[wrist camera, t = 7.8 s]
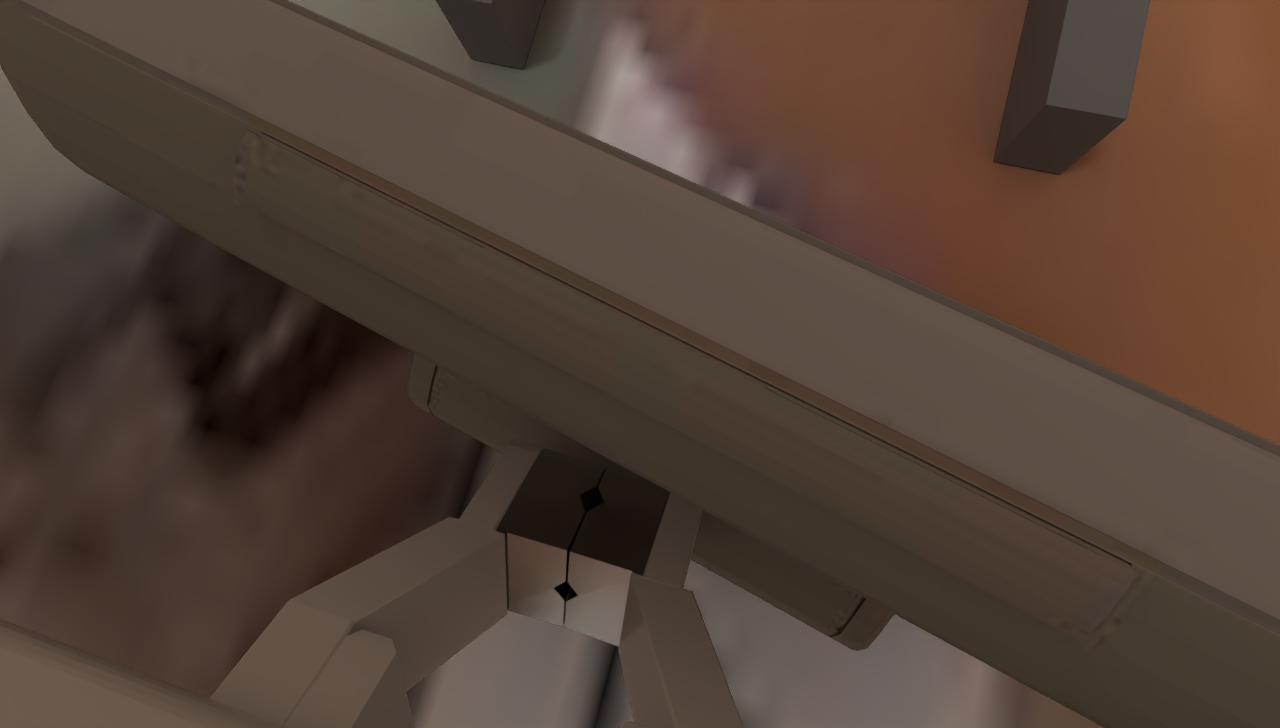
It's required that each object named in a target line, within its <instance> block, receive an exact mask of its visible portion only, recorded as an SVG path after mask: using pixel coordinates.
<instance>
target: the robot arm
mask: <svg viewBox="0 0 1280 728" xmlns="http://www.w3.org/2000/svg"><path fill="white" fill-rule="evenodd" d="M702 512H703V510H702V509H700V508H699V507H697V506H695V505H693V504H691V503H689V502H688V501H686V500H684V499H682V498H680V497H678V496H677V495H675V494H673V493H671V492H669V491H667V490H665V489H664V488H662V487H660V486H658V485H656V484H654V483H653V482H651V481H649V480H647V479H645V478H643V477H642V476H640V475H636V474H632V473H629V472H625V471H621V470H618V469H614V468H610V467H609V468H607V467H604V466H600V465H597V464H594V463H591V462H588V461H584V460H581V459H578V458H575V457H572V456H569V455H565V454H562V453H559V452H556V451H553V450H549V449H546V448H542V447H538V446H535V445H532V444H529V443H525V442H522V441H519V440H516V439H514V440H513V441H512V442H510V443H509V444H508V445H507V446H506V447H505V448H504V450H503V451H502V453H501V455H500V456H499V458H498V459H497V461H496V462H495V464H494V465H493V467H492V468H491V470H490V472H489V473H488V475H487V476H486V478H485V479H484V481H483V482H482V484H481V486H480V487H479V489H478V490H477V492H476V493H475V495H474V496H473V498H472V500H471V501H470V503H469V504H468V506H467V507H466V509H465V510H464V512H463V513H462V515H461V517H460V518H459V519H457V518H453V517H448V518H446V519H444V520H442V521H440V522H438V523H436V524H434V525H432V526H430V527H428V528H427V529H425V530H423V531H421V532H419V533H417V534H415V535H413V536H411V537H409V538H407V539H405V540H403V541H402V542H400V543H398V544H396V545H394V546H392V547H390V548H388V549H386V550H384V551H382V552H380V553H378V554H377V555H375V556H373V557H371V558H369V559H367V560H365V561H363V562H361V563H359V564H357V565H355V566H353V567H352V568H350V569H348V570H346V571H344V572H342V573H340V574H338V575H336V576H334V577H332V578H330V579H328V580H326V581H325V582H323V583H321V584H319V585H317V586H315V587H313V588H311V589H309V590H307V591H305V592H303V593H301V594H300V595H298V596H296V597H294V598H292V599H290V600H288V602H287V603H286V604H285V605H284V607H283V608H282V609H281V610H280V612H279V613H278V614H277V615H276V617H275V618H274V619H273V620H272V621H271V623H270V624H269V625H268V626H267V628H266V629H265V630H264V631H263V633H262V634H261V635H260V636H259V637H258V639H257V640H256V641H255V642H254V644H253V645H252V646H251V647H250V649H249V650H248V651H247V652H246V653H245V655H244V656H243V657H242V658H241V660H240V661H239V662H238V663H237V665H236V666H235V667H234V668H233V669H232V671H231V672H230V673H229V674H228V676H227V677H226V678H225V679H224V681H223V682H222V683H221V684H220V685H219V687H218V688H217V689H216V690H215V692H214V693H213V694H212V695H211V697H210V698H207V697H205V696H202V695H200V694H197V693H194V692H192V691H189V690H186V689H184V688H181V687H178V686H176V685H173V684H170V683H168V682H165V681H163V680H160V679H157V678H155V677H152V676H149V675H147V674H144V673H141V672H139V671H136V670H133V669H131V668H128V667H126V666H123V665H120V664H118V663H115V662H112V661H110V660H107V659H104V658H102V657H99V656H96V655H94V654H91V653H89V652H86V651H83V650H81V649H78V648H75V647H73V646H70V645H67V644H65V643H62V642H59V641H57V640H54V639H52V638H49V637H46V636H44V635H41V634H38V633H36V632H33V631H30V630H28V629H25V628H22V627H20V626H17V625H15V624H12V623H9V622H7V621H4V620H1V619H0V728H415V727H414V723H413V718H412V714H411V710H410V706H409V702H408V698H407V694H406V692H407V691H408V690H409V689H411V688H412V687H413V686H414V685H416V684H417V683H418V682H420V681H421V680H422V679H424V678H425V677H426V676H427V675H429V674H430V673H431V672H433V671H434V670H435V669H437V668H438V667H439V666H440V665H442V664H443V663H444V662H446V661H447V660H448V659H450V658H451V657H452V656H453V655H455V654H456V653H457V652H459V651H460V650H461V649H463V648H464V647H465V646H466V645H468V644H469V643H470V642H472V641H473V640H474V639H476V638H477V637H478V636H479V635H481V634H482V633H483V632H485V631H486V630H487V629H489V628H490V627H491V626H492V625H494V624H495V623H496V622H498V621H499V620H500V619H501V618H503V617H504V616H505V615H507V610H509V611H512V612H515V613H519V614H522V615H526V616H529V617H532V618H536V619H539V620H542V621H546V622H549V623H552V624H556V625H559V626H563V624H564V622H565V628H568V629H571V630H574V631H577V632H579V633H582V634H585V635H588V636H591V637H593V638H596V639H599V640H602V641H604V642H607V643H610V644H613V645H616V646H618V647H619V654H620V659H621V664H622V668H623V673H624V678H625V683H626V687H627V692H628V697H629V701H630V706H631V711H632V716H633V720H634V723H632V722H627V723H626V724H624V725H622V726H621V727H619V728H743V725H742V722H741V720H740V717H739V714H738V712H737V709H736V706H735V704H734V701H733V698H732V695H731V693H730V690H729V687H728V685H727V682H726V679H725V677H724V674H723V671H722V669H721V666H720V663H719V661H718V658H717V655H716V653H715V650H714V647H713V645H712V642H711V639H710V637H709V634H708V631H707V629H706V626H705V623H704V621H703V618H702V615H701V612H700V610H699V607H698V604H697V602H696V599H695V596H694V594H693V592H691V591H689V590H686V589H683V586H684V582H685V578H686V575H687V571H688V567H689V563H690V559H691V555H692V551H693V547H694V544H695V540H696V536H697V532H698V528H699V524H700V520H701V516H702Z"/></svg>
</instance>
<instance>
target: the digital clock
mask: <svg viewBox="0 0 1280 728" xmlns="http://www.w3.org/2000/svg"><path fill="white" fill-rule="evenodd" d="M0 64H1V68H2V70H3V71H4V73H5V75H6V77H7V78H8V80H9V82H10V84H11V85H12V87H13V89H14V90H15V92H16V94H17V96H18V97H19V99H20V101H21V102H22V104H23V106H24V108H25V109H26V111H27V113H28V114H29V115H30V117H31V118H32V119H33V121H34V122H35V123H36V124H37V126H38V127H39V128H40V130H41V131H42V132H43V134H44V135H45V136H46V137H47V139H48V140H49V141H50V143H51V144H52V145H53V147H54V148H55V149H57V150H58V151H59V152H60V153H62V154H63V155H64V156H65V157H66V158H68V159H69V160H70V161H71V162H73V163H74V164H75V165H77V166H78V167H79V168H80V169H82V170H83V171H84V172H86V173H87V174H89V175H91V176H93V177H95V178H96V179H98V180H100V181H102V182H104V183H105V184H107V185H109V186H111V187H112V188H114V189H116V190H118V191H120V192H121V193H123V194H125V195H127V196H129V197H130V198H132V199H134V200H136V201H138V202H139V203H141V204H143V205H145V206H146V207H148V208H150V209H152V210H154V211H155V212H157V213H159V214H161V215H163V216H164V217H166V218H168V219H170V220H171V221H173V222H175V223H177V224H179V225H180V226H182V227H184V228H186V229H188V230H189V231H191V232H193V233H195V234H197V235H198V236H200V237H202V238H204V239H205V240H207V241H209V242H211V243H213V244H214V245H216V246H218V247H220V248H222V249H223V250H225V251H227V252H229V253H231V254H233V255H234V256H236V257H238V258H240V259H242V260H244V261H245V262H247V263H249V264H251V265H253V266H255V267H257V268H258V269H260V270H262V271H264V272H266V273H268V274H269V275H271V276H273V277H275V278H277V279H279V280H280V281H282V282H284V283H286V284H288V285H290V286H292V287H293V288H295V289H297V290H299V291H301V292H303V293H304V294H306V295H308V296H310V297H312V298H314V299H315V300H317V301H319V302H321V303H323V304H325V305H327V306H328V307H330V308H332V309H334V310H336V311H338V312H339V313H341V314H343V315H345V316H347V317H349V318H350V319H352V320H354V321H356V322H358V323H360V324H362V325H363V326H365V327H367V328H369V329H371V330H373V331H374V332H376V333H378V334H380V335H382V336H384V337H385V338H387V339H389V340H391V341H393V342H395V343H397V344H398V345H400V346H402V347H404V348H406V349H408V350H409V351H411V352H413V353H415V355H414V359H413V363H412V367H411V371H410V376H409V382H408V387H407V393H408V395H409V397H410V399H411V401H412V402H413V403H414V405H416V406H418V407H419V408H421V409H423V410H425V411H427V412H428V413H430V414H432V415H434V416H436V417H437V418H439V419H441V420H443V421H445V422H446V423H448V424H450V425H452V426H453V427H455V428H457V429H459V430H461V431H462V432H464V433H466V434H468V435H470V436H471V437H473V438H475V439H477V440H478V441H480V442H482V443H484V444H486V445H487V446H489V447H491V448H493V449H495V450H496V451H498V452H500V453H502V451H503V450H504V448H505V447H506V446H507V445H508V444H509V443H510V442H512V441H513V440H514V439H516V440H519V441H522V442H525V443H529V444H532V445H535V446H538V447H542V448H546V449H549V450H553V451H556V452H559V453H562V454H565V455H569V456H572V457H575V458H578V459H581V460H584V461H588V462H591V463H594V464H597V465H600V466H604V467H607V468H609V467H610V468H614V469H618V470H621V471H625V472H629V473H632V474H636V475H640V476H642V477H643V478H645V479H647V480H649V481H651V482H653V483H654V484H656V485H658V486H660V487H662V488H664V489H665V490H667V491H669V492H671V493H673V494H675V495H677V496H678V497H680V498H682V499H684V500H686V501H688V502H689V503H691V504H693V505H695V506H697V507H699V508H700V509H702V510H703V512H702V516H701V520H700V524H699V528H698V532H697V536H696V540H695V544H694V547H693V551H692V555H691V560H693V561H695V562H697V563H698V564H700V565H702V566H704V567H706V568H707V569H709V570H711V571H713V572H715V573H716V574H718V575H720V576H722V577H723V578H725V579H727V580H729V581H731V582H732V583H734V584H736V585H738V586H740V587H741V588H743V589H745V590H747V591H748V592H750V593H752V594H754V595H756V596H757V597H759V598H761V599H763V600H765V601H766V602H768V603H770V604H772V605H774V606H775V607H777V608H779V609H781V610H782V611H784V612H786V613H788V614H790V615H791V616H793V617H795V618H797V619H799V620H800V621H802V622H804V623H806V624H807V625H809V626H811V627H813V628H815V629H816V630H818V631H820V632H822V633H824V634H825V635H827V636H829V637H831V638H833V639H834V640H836V641H838V642H840V643H841V644H843V645H845V646H847V647H849V648H850V649H852V650H857V651H858V650H862V649H866V648H868V647H869V645H870V644H871V643H872V642H873V641H874V640H875V638H876V637H877V636H878V635H879V634H880V632H881V631H882V630H883V628H884V627H885V626H886V624H887V623H888V622H889V620H890V619H891V618H892V616H893V615H894V614H896V615H898V616H899V617H901V618H903V619H905V620H907V621H909V622H910V623H912V624H914V625H916V626H918V627H920V628H922V629H923V630H925V631H927V632H929V633H931V634H933V635H934V636H936V637H938V638H940V639H942V640H944V641H945V642H947V643H949V644H951V645H953V646H955V647H957V648H958V649H960V650H962V651H964V652H966V653H968V654H969V655H971V656H973V657H975V658H977V659H979V660H980V661H982V662H984V663H986V664H988V665H990V666H992V667H993V668H995V669H997V670H999V671H1001V672H1003V673H1004V674H1006V675H1008V676H1010V677H1012V678H1014V679H1015V680H1017V681H1019V682H1021V683H1023V684H1025V685H1027V686H1028V687H1030V688H1032V689H1034V690H1036V691H1038V692H1039V693H1041V694H1043V695H1045V696H1047V697H1049V698H1050V699H1052V700H1054V701H1056V702H1058V703H1060V704H1062V705H1063V706H1065V707H1067V708H1069V709H1071V710H1073V711H1075V712H1076V713H1078V714H1080V715H1082V716H1084V717H1086V718H1088V719H1089V720H1091V721H1093V722H1095V723H1097V724H1099V725H1101V726H1102V727H1104V728H1280V445H1277V444H1275V443H1273V442H1271V441H1268V440H1266V439H1264V438H1262V437H1260V436H1257V435H1255V434H1253V433H1251V432H1248V431H1246V430H1244V429H1242V428H1239V427H1237V426H1235V425H1233V424H1231V423H1228V422H1226V421H1224V420H1222V419H1219V418H1217V417H1215V416H1213V415H1210V414H1208V413H1206V412H1204V411H1202V410H1199V409H1197V408H1195V407H1193V406H1190V405H1188V404H1186V403H1184V402H1182V401H1179V400H1177V399H1175V398H1173V397H1170V396H1168V395H1166V394H1164V393H1161V392H1159V391H1157V390H1155V389H1153V388H1150V387H1148V386H1146V385H1144V384H1141V383H1139V382H1137V381H1135V380H1132V379H1130V378H1128V377H1126V376H1124V375H1121V374H1119V373H1117V372H1115V371H1112V370H1110V369H1108V368H1106V367H1104V366H1101V365H1099V364H1097V363H1095V362H1092V361H1090V360H1088V359H1086V358H1083V357H1081V356H1079V355H1077V354H1075V353H1072V352H1070V351H1068V350H1066V349H1063V348H1061V347H1059V346H1057V345H1054V344H1052V343H1050V342H1048V341H1046V340H1043V339H1041V338H1039V337H1037V336H1034V335H1032V334H1030V333H1028V332H1025V331H1023V330H1021V329H1019V328H1017V327H1014V326H1012V325H1010V324H1008V323H1005V322H1003V321H1001V320H999V319H997V318H994V317H992V316H990V315H988V314H985V313H983V312H981V311H979V310H976V309H974V308H972V307H970V306H968V305H965V304H963V303H961V302H959V301H956V300H954V299H952V298H950V297H947V296H945V295H943V294H941V293H939V292H936V291H934V290H932V289H930V288H927V287H925V286H923V285H921V284H919V283H916V282H914V281H912V280H910V279H907V278H905V277H903V276H901V275H898V274H896V273H894V272H892V271H890V270H887V269H885V268H883V267H881V266H878V265H876V264H874V263H872V262H869V261H867V260H865V259H863V258H861V257H858V256H856V255H854V254H852V253H849V252H847V251H845V250H843V249H841V248H838V247H836V246H834V245H832V244H829V243H827V242H825V241H823V240H820V239H818V238H816V237H814V236H812V235H809V234H807V233H805V232H803V231H800V230H798V229H796V228H794V227H791V226H789V225H787V224H785V223H783V222H780V221H778V220H776V219H774V218H771V217H769V216H767V215H765V214H762V213H760V212H758V211H756V210H754V209H751V208H749V207H747V206H745V205H742V204H740V203H738V202H736V201H734V200H731V199H729V198H727V197H725V196H722V195H720V194H718V193H716V192H713V191H711V190H709V189H707V188H705V187H702V186H700V185H698V184H696V183H693V182H691V181H689V180H687V179H684V178H682V177H680V176H678V175H676V174H673V173H671V172H669V171H667V170H664V169H662V168H660V167H658V166H656V165H653V164H651V163H649V162H647V161H644V160H642V159H640V158H638V157H635V156H633V155H631V154H629V153H627V152H624V151H622V150H620V149H618V148H615V147H613V146H611V145H609V144H606V143H604V142H602V141H600V140H598V139H595V138H593V137H591V136H589V135H586V134H584V133H582V132H580V131H577V130H575V129H573V128H571V127H569V126H566V125H564V124H562V123H560V122H557V121H555V120H553V119H551V118H549V117H546V116H544V115H542V114H540V113H537V112H535V111H533V110H531V109H528V108H526V107H524V106H522V105H520V104H517V103H515V102H513V101H511V100H508V99H506V98H504V97H502V96H499V95H497V94H495V93H493V92H491V91H488V90H486V89H484V88H482V87H479V86H477V85H475V84H473V83H471V82H468V81H466V80H464V79H462V78H459V77H457V76H455V75H453V74H450V73H448V72H446V71H444V70H442V69H439V68H437V67H435V66H433V65H430V64H428V63H426V62H424V61H421V60H419V59H417V58H415V57H413V56H410V55H408V54H406V53H404V52H401V51H399V50H397V49H395V48H392V47H390V46H388V45H386V44H384V43H381V42H379V41H377V40H375V39H372V38H370V37H368V36H366V35H364V34H361V33H359V32H357V31H355V30H352V29H350V28H348V27H346V26H343V25H341V24H339V23H337V22H335V21H332V20H330V19H328V18H326V17H323V16H321V15H319V14H317V13H314V12H312V11H310V10H308V9H306V8H303V7H301V6H299V5H297V4H294V3H292V2H290V1H288V0H0Z"/></svg>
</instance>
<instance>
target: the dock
mask: <svg viewBox="0 0 1280 728" xmlns="http://www.w3.org/2000/svg"><path fill="white" fill-rule="evenodd" d="M436 2H437V3H438V5H439V7H440V8H441V10H442V12H443V13H444V15H445V17H446V18H447V20H448V22H449V23H450V25H451V27H452V28H453V30H454V31H455V33H456V35H457V36H458V38H459V40H460V41H461V43H462V45H463V46H464V48H465V50H466V51H467V53H468V55H469V56H470V58H471V59H473V60H478V61H483V62H488V63H493V64H498V65H503V66H508V67H514V68H519V69H524V65H525V62H526V59H527V56H528V53H529V50H530V47H531V43H532V40H533V37H534V34H535V31H536V28H537V25H538V21H539V18H540V15H541V12H542V9H543V6H544V3H545V0H436ZM1149 3H1150V0H1029V4H1028V8H1027V13H1026V17H1025V21H1024V26H1023V30H1022V35H1021V39H1020V44H1019V48H1018V53H1017V57H1016V62H1015V66H1014V71H1013V75H1012V80H1011V84H1010V89H1009V93H1008V98H1007V102H1006V107H1005V111H1004V116H1003V120H1002V125H1001V129H1000V134H999V138H998V143H997V147H996V152H995V156H994V161H993V162H998V163H1004V164H1009V165H1014V166H1019V167H1024V168H1029V169H1034V170H1039V171H1044V172H1049V173H1055V174H1061V173H1062V172H1063V171H1065V170H1066V169H1067V168H1068V167H1069V166H1071V165H1072V164H1073V163H1074V162H1075V161H1077V160H1078V159H1079V158H1080V157H1081V156H1083V155H1084V154H1085V153H1086V152H1087V151H1089V150H1090V149H1091V148H1092V147H1093V146H1095V145H1096V144H1097V143H1098V142H1099V141H1101V140H1102V139H1103V138H1104V137H1105V136H1107V135H1108V134H1109V133H1110V132H1111V131H1112V130H1114V129H1115V128H1116V127H1117V126H1118V125H1120V124H1121V123H1122V122H1123V121H1124V120H1126V118H1127V113H1128V108H1129V103H1130V98H1131V93H1132V88H1133V83H1134V78H1135V73H1136V68H1137V63H1138V58H1139V53H1140V48H1141V43H1142V38H1143V33H1144V28H1145V23H1146V18H1147V13H1148V8H1149Z"/></svg>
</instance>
